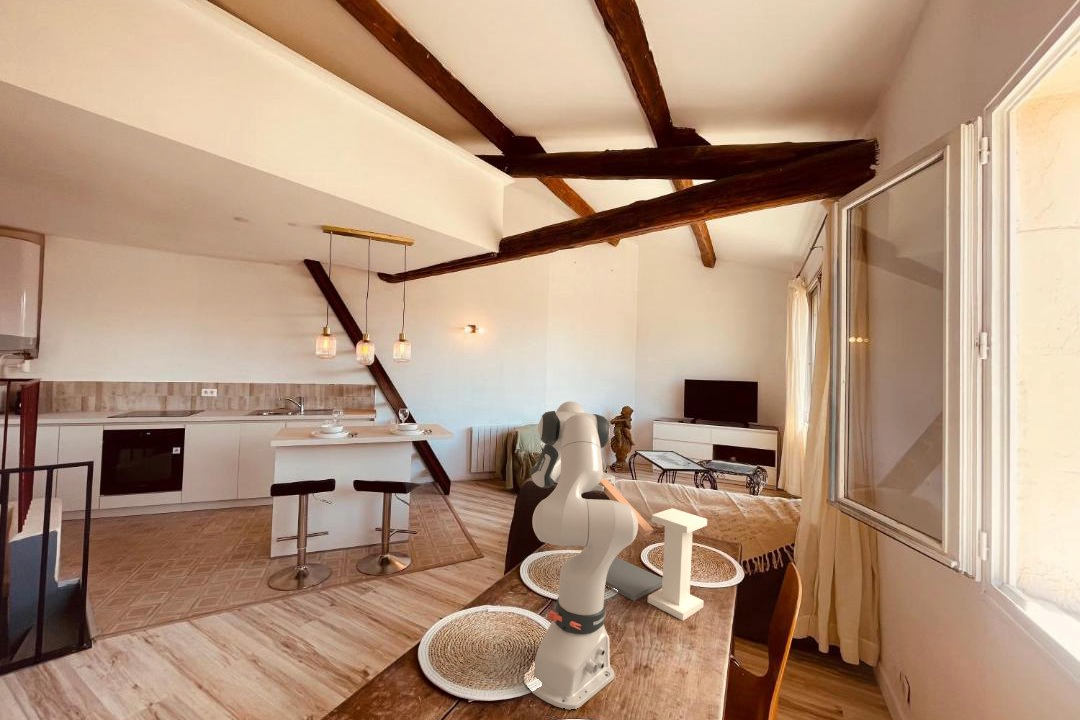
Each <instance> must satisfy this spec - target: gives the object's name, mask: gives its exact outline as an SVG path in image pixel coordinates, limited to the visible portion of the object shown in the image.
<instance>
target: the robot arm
mask: <svg viewBox="0 0 1080 720" xmlns="http://www.w3.org/2000/svg"><path fill="white" fill-rule="evenodd" d="M537 430H538V435H539V439H540V441H541V442H542V443H543V444H544V445H543V448H542V451H541V452H540V455H539V458H538V460H537V462H536V463H535V464H534V465H533V466H532V467H531V468H530V471H529V472H530V479H531V481H532V482H533V483H534V484H535V485H536V486H537V487H539V488H541V489H548V488H552V486H553V485H554V483H557V484H556V486H555V488H554V490H552V492H550V494H549V495H548V496H547V497H546V498H544V499H542V500H541V501H540V502H539V503H538V504H537V505H536V507H535V509H534V511H533V514H532V521H531V522H532V528H533V531H534V534H535V536H536V537H537V539H538V540H539V541H540V542H541V543H545V544H549V545H553V546H558V547H579V548H580V547H584V548H583V549H582V550H581V551H580V552H579V553H578V554H576V555H574V556H571V557H570V558H569V559H567V560H566V561H565V562H564V563H563V565H562V567H561V568H560V571H559V583H558V585H559V586H558V597H557V599H556V603H555V606H554V610H553V609H552V610H550V611H549V613H548V616H547V618H548V620H549V621H551V623H550V625H549V626H548V628H547V630H546V632H545V634H544V636H543V638H542V641H541V642H540V645H539V647H538V649H537V651H536V654H535V658H536V659H535V658H534V659H535V669H534V676H535V677H536V678H537V679H539V680H540V681H541V682H542V686H541V687H539V688H537V689H536V690H535V691H534V692H531V693H532V694H533V695H535V696H536V697H537V698H539V699H541V700H542V701H544V702H546V703H548V704H551V705H552V706H554V707H556V708H557V707H558V708H561V709H563V708H565V709H564V710H569V711H572V710H571V709H576V710H578V709H579V708H580V707H582V706H583V705H584V704H585V703H586V702H587V701H589V700H590V699H591V698H593V697H594V696H595V695H596V694H597V693H598V692H600V691H601V690H602V689H603V688H604V687H606V686H607V685H608V684H610V683H611V681H613V680H615V677H616V676H615V670H614V669H613V668H612V666H611V664H610V663H611V662H610V661H611V660H610V659H611V658H610V637H609V634H608V633H607V630H606V627H605V622H606V617H607V616H606V615H607V614H606V613H607V611H606V610H607V609H606V604H605V591H606V586H605V584H606V577H607V573H608V570H609V568H610V566H611V564H612V562H613V560H614V559H615V557H617V556H618V555H619V554H620V553H621V552H622V551H623V550H624V549H626V548H627V547H629V546H631V544H632V543H633V542H634V540H636V537H637V535H638V532H639V531H638V520H637V516H636V514H635V512H634V510H633V509H632V508H631V507H630V506H629V505H628V504H625V503H621V502H617V501H613V500H611V499H590V498H589V499H588V498H583V497H582V495H583V494H584V493H588V492H592V491H597V492H598V491H599V492H604V491H605V486H603V485H598V484H599V483H600V481H601V480H604V479H607V480H608V481H609V482H610V483H611V484H612V485H613V486H614V487H615V488H616V477H615V475H613V474H610V473H609V472H608V473H607V472H605V471H604V469H603V460H602V449H603V448H605V447H606V445H608V443H609V439H610V436H611V435H610V434H611V429H610V423H609V421H608V419H607V418H606V417H605V416H603V415H600V414H596V413H586V412H585V409H584V408H583V407H582V405H581V404H579V403H578V402H575V401H565V402H563V403H562V404H561V405H559V407H558V408H557V410H550V411H546V412H544V413H543V414H542V415H541V418H540V419H539V423H538V428H537ZM577 708H578V709H577Z"/></svg>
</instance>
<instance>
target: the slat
mask: <svg viewBox="0 0 1080 720" xmlns="http://www.w3.org/2000/svg"><path fill="white" fill-rule="evenodd" d="M598 485H603V486H605V491H603V492H604V494H605V495H606V496H607V497H608V498H609V500H613V501H617V502H621V503H625V504H628V505H629V506H630V507H631V508H632V509H633V510H634V512H635V514H636V516H637V520H638V532H639V533H640V534H641V535H642V536H643V537H647V536H648V535H651V534H652V533H653V531H654V528H653V527H652V526H651V525H650V524H649V523H648V522H647V521H646V520H645V519H644V518H643V517H642V515H641V514H640V513H639V512H638V511H637V510H636V509H635V508H634V507H633V505H632V504H630V502H628V500H627V499H626V498H625V497H624V496H623V495H622V493H620V492H619V491H618V489H616V486H615V487H614V486H613V485H612V484H611V483H610V482H609V481H608V480H607V479H604V480H601V481H600V483H599V484H598Z"/></svg>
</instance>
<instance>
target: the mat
mask: <svg viewBox="0 0 1080 720" xmlns="http://www.w3.org/2000/svg"><path fill="white" fill-rule="evenodd" d="M662 580H663V577H661V576H659V575H656V574H654V573H652V572H650V571H648V570H646V569H643V568H641V567H639V566H637V565H635V564H633V563H630V562H628V561H626V560H624V559H622V558H619V557H617V556H616V557H615V559H614V560H613V562H612V564H611V566H610V568H609V570H608V573H607V577H606V584H605V585H607V586H609V587H612V588H615V589H617V590H618V592H617V593H618V594H619V595H622V596H624V597H626V598H627V599H628V600H629V599H630V600H631V601H633V602H634V601H636V600H638V599H640V598H642V597H644V596H646V595H647V594H650V593H653V592H654V591H655V590H657V589H659V588H662ZM607 586H606V587H607ZM609 587H608V588H609Z"/></svg>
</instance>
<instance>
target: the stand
mask: <svg viewBox="0 0 1080 720" xmlns="http://www.w3.org/2000/svg"><path fill="white" fill-rule="evenodd" d="M650 520H651V522H653V523H655V524H659V525H661V526H664V539H663V542H664V543H663V562H662V564H663V565H662V570H663V571H662V578H663V580H662V586H661V588H660V589H658V590H656V591H655V592H654V591H653V592H651V594H650V593H649V595H647V603H648V604H650V605H652V606H654V607H656V608H658V609H660V610H661V611H664V612H665V613H668V614H669V615H670V616H673V617H675V618H677V619H679V620H681V621H685V620H686V619H688V618H689V617H690V616H692V615H694V614H695V613H697V612H698V611H700V610H702V609H703V608H704V600H703V599H701V598H700V597H697V596H696V595H693V594H691V578H692V577H691V575H692V574H691V573H692V561H691V560H692V554H693V551H692V550H693V549H692V548H693V534H694V533H693V532H695V531H697V530H699V529H702V528H704V527H707V526H708V518H705V517H701V516H699V515H696V514H692V513H689V512H685V511H683V510H680V509H676V508H673V507H671V508H670V509H669V508H668V509H666V510H663V511H660V512H656V513H653V514H651V519H650Z"/></svg>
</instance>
